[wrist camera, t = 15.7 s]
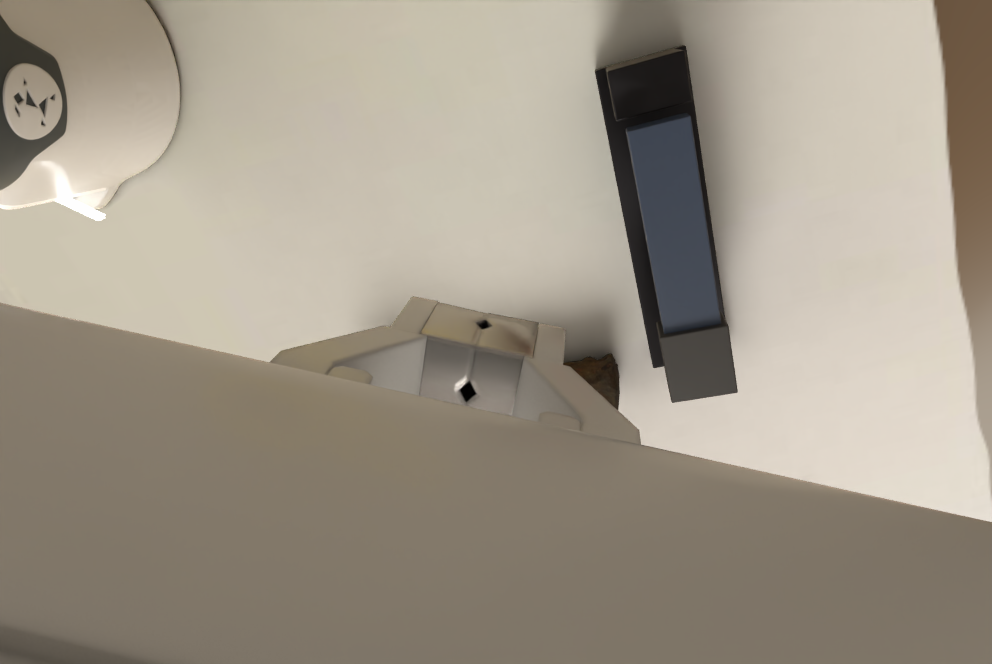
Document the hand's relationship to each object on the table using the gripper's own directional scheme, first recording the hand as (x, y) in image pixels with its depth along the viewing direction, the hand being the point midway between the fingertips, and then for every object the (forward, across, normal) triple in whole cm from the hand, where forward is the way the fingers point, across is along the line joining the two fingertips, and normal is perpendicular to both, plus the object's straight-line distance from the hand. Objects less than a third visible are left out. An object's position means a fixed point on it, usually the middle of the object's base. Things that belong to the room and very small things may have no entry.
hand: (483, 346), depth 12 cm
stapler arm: (+26, -8, +5) cm, 27 cm away
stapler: (+31, -8, +4) cm, 32 cm away
